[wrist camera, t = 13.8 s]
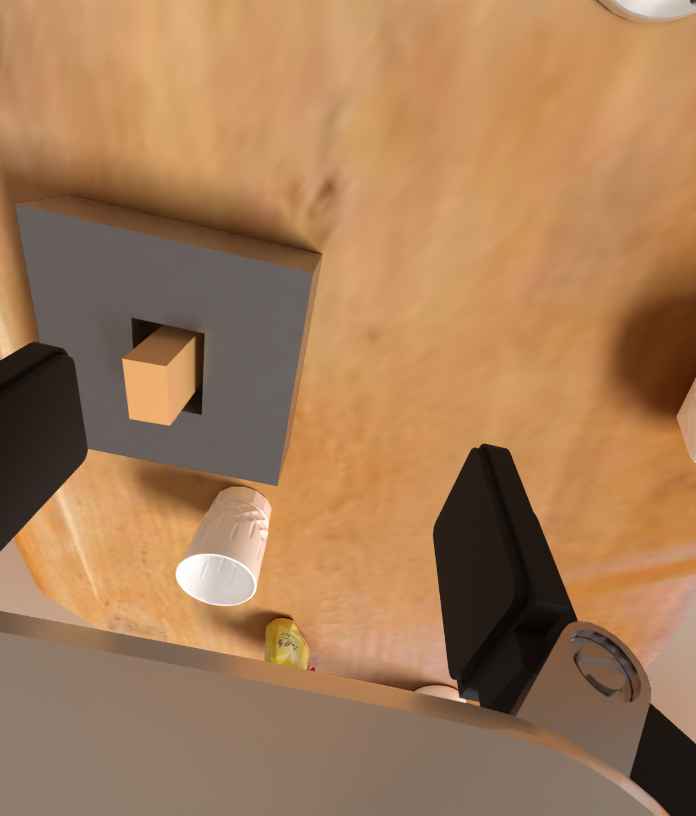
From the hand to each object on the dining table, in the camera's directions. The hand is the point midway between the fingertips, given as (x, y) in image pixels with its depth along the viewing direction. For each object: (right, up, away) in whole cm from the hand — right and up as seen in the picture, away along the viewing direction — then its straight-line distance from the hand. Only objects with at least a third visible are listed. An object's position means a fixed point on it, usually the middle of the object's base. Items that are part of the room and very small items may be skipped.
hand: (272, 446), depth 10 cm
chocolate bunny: (-6, -33, +53) cm, 62 cm away
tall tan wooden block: (-12, +7, +29) cm, 32 cm away
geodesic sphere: (+36, +3, +28) cm, 46 cm away
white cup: (-10, -11, +40) cm, 42 cm away
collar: (-12, +7, +29) cm, 32 cm away
